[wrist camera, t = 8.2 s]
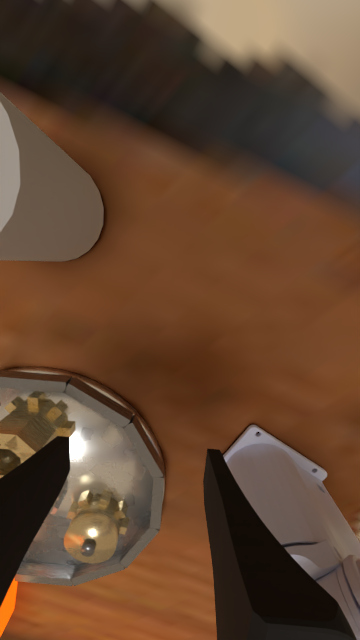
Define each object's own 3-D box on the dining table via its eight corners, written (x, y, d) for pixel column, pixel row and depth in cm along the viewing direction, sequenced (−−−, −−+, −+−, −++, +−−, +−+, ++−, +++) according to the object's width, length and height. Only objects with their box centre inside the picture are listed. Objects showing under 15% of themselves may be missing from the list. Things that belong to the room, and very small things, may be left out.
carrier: (211, 451, 24) (217, 493, 19) (92, 589, 28) (76, 647, 24) (-8, 316, 21) (-57, 330, 17) (-99, 494, 26) (-155, 539, 22)
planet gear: (74, 394, 21) (45, 429, 17) (75, 454, 23) (49, 500, 18) (4, 388, 22) (-44, 421, 17) (9, 448, 23) (-33, 493, 18)
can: (125, 198, 19) (23, 86, 7) (80, 279, 20) (-65, 299, 8) (38, 138, 18) (-241, -100, 6) (-1, 227, 19) (-286, 172, 8)
